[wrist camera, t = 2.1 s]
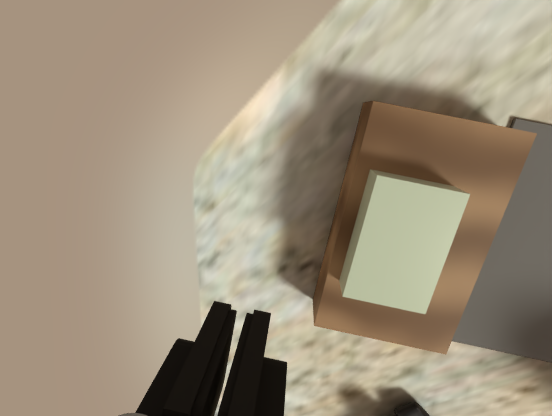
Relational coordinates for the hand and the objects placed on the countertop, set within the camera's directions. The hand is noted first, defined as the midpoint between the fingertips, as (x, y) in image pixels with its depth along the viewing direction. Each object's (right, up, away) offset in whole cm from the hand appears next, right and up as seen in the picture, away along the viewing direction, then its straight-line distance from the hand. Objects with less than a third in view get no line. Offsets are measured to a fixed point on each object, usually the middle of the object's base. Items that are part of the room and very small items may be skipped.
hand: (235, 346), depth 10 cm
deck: (+12, +3, +18) cm, 22 cm away
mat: (+24, +1, +18) cm, 30 cm away
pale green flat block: (+10, +2, +13) cm, 17 cm away
